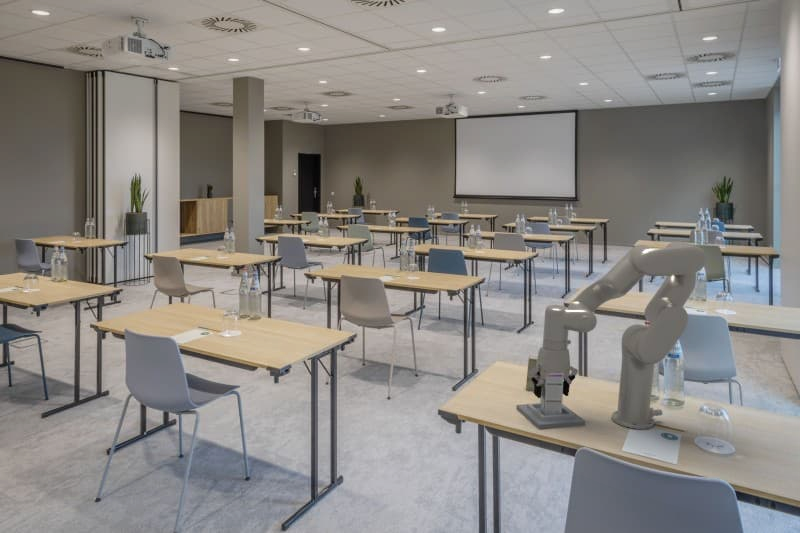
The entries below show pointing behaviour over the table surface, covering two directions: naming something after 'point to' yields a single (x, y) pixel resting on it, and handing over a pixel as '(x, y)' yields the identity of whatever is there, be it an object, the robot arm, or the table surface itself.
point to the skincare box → (531, 365)
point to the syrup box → (552, 394)
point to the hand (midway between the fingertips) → (551, 395)
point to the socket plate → (550, 417)
